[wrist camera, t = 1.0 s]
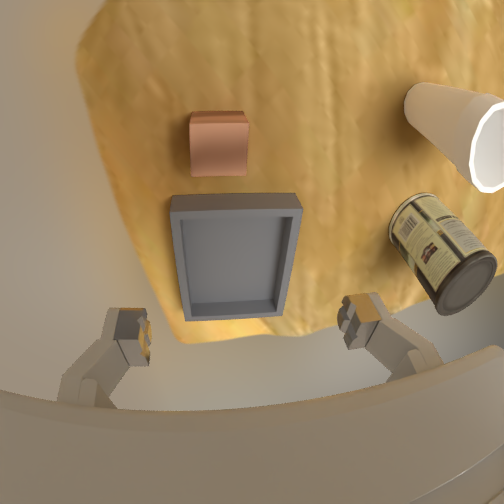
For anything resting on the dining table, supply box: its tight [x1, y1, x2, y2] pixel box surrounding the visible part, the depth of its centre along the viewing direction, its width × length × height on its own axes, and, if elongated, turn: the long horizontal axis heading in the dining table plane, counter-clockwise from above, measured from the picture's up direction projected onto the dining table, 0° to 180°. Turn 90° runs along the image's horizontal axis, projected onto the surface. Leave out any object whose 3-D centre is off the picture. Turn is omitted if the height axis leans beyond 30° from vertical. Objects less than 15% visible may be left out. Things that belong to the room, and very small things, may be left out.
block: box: [189, 111, 249, 177], centre depth 27 cm, size 5×5×5 cm
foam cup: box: [404, 82, 504, 193], centre depth 23 cm, size 10×9×13 cm
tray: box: [169, 193, 303, 321], centre depth 38 cm, size 18×14×4 cm
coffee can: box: [389, 193, 497, 316], centre depth 34 cm, size 10×10×14 cm
